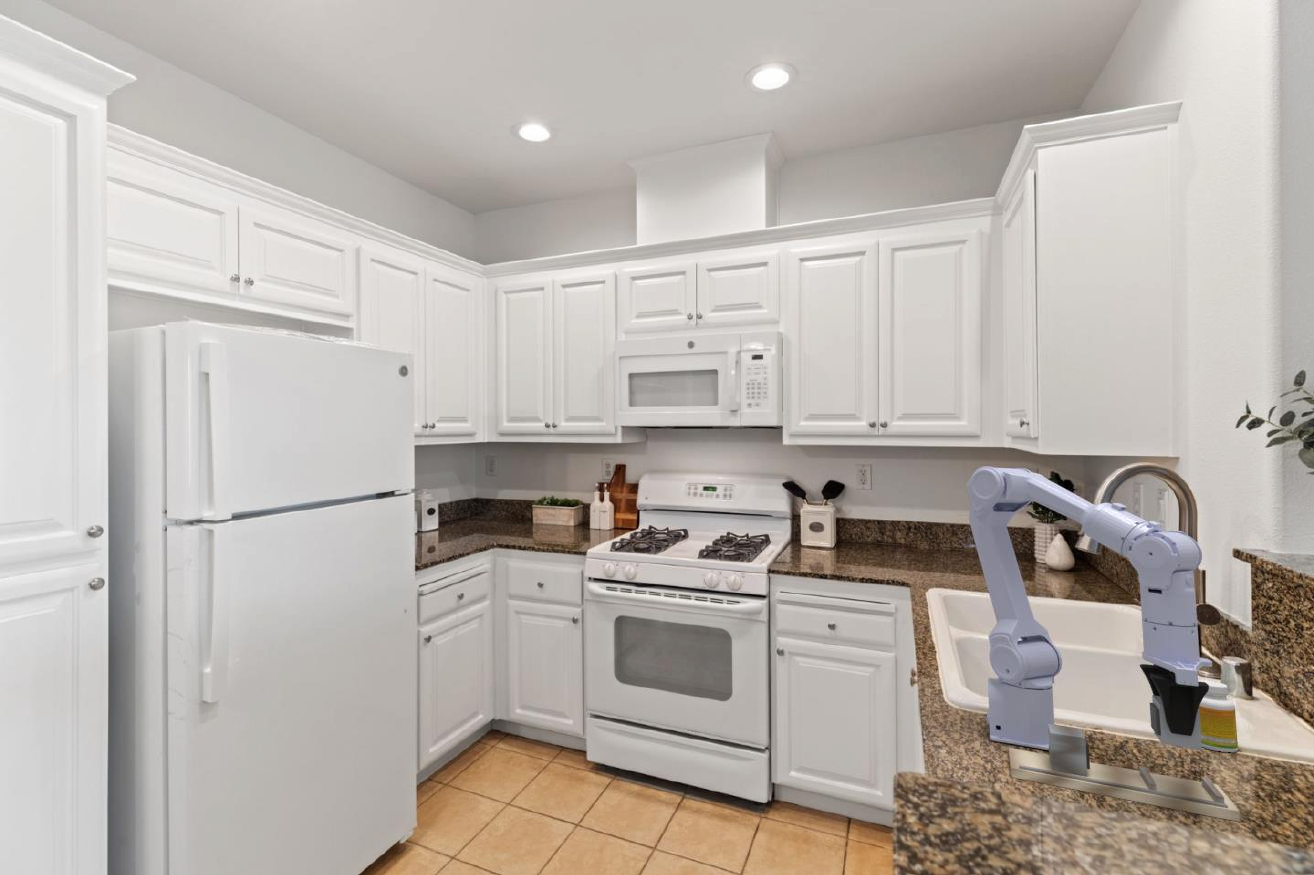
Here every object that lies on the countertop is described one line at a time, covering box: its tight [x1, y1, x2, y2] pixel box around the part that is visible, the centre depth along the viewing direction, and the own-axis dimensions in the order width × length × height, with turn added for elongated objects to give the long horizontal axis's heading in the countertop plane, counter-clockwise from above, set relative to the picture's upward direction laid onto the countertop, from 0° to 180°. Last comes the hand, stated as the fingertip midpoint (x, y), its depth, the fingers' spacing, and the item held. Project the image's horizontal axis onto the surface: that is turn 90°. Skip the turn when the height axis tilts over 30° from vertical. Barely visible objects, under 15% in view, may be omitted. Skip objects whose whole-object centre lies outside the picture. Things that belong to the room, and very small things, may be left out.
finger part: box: [1149, 694, 1203, 751], centre depth 81 cm, size 4×4×5 cm
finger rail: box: [1008, 724, 1242, 823], centre depth 83 cm, size 24×8×6 cm, turn 62°
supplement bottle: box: [1198, 679, 1239, 753], centre depth 98 cm, size 5×5×10 cm
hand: (1175, 728), depth 81 cm, fingers closed on finger part, 4 cm apart
